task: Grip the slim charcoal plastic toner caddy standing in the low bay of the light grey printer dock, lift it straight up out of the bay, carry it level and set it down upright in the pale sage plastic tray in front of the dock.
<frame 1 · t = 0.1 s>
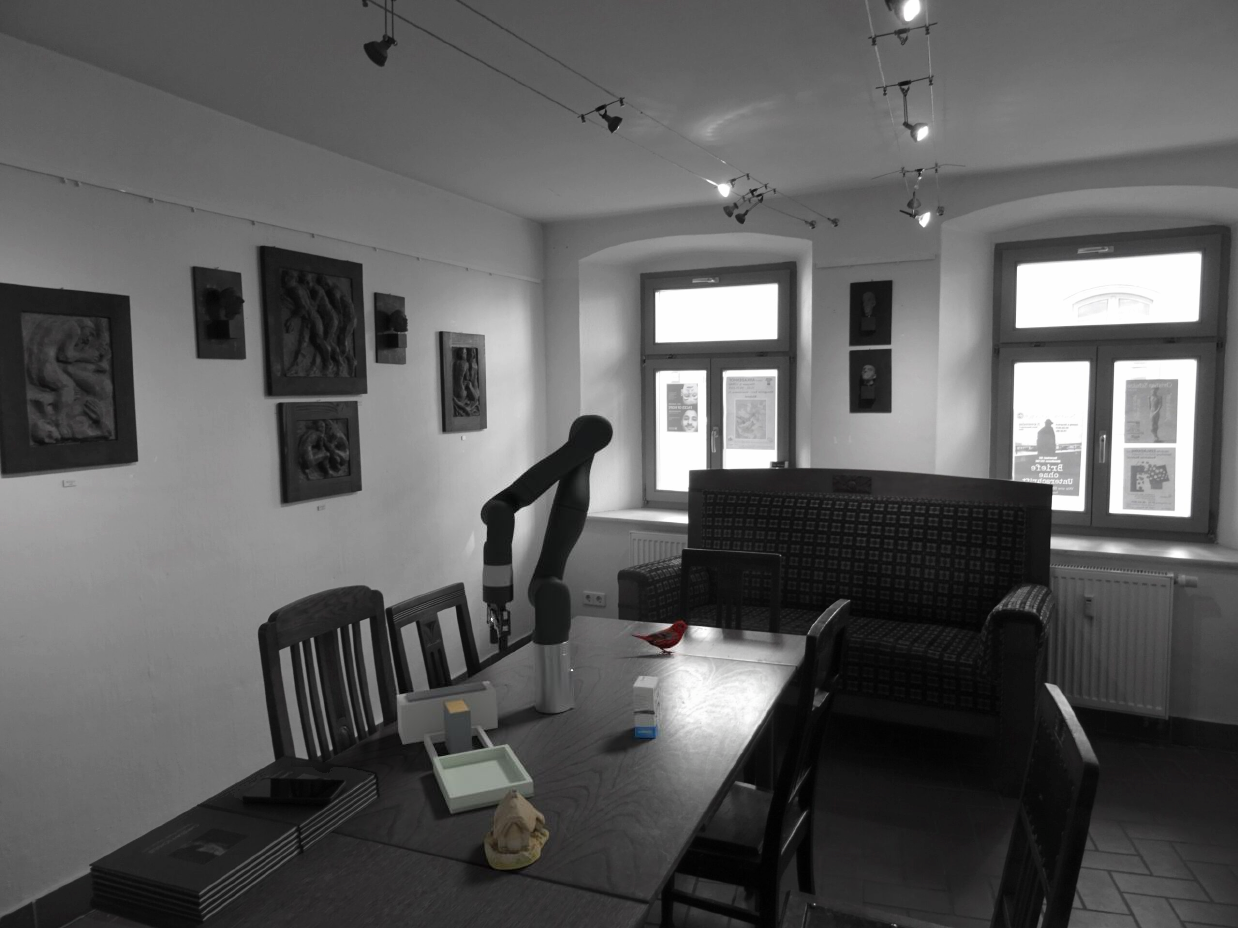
hand: (498, 647, 202), 17 cm above the table, tool pointing down, fingers open, 8 cm apart
ceramic model: (516, 849, 142), on the table
tray: (481, 783, 167), on the table
toner caddy: (458, 750, 184), resting in printer dock
ink box: (647, 731, 191), on the table
decorative bird figurine: (660, 654, 251), on the table
printer dock: (458, 749, 184), on the table
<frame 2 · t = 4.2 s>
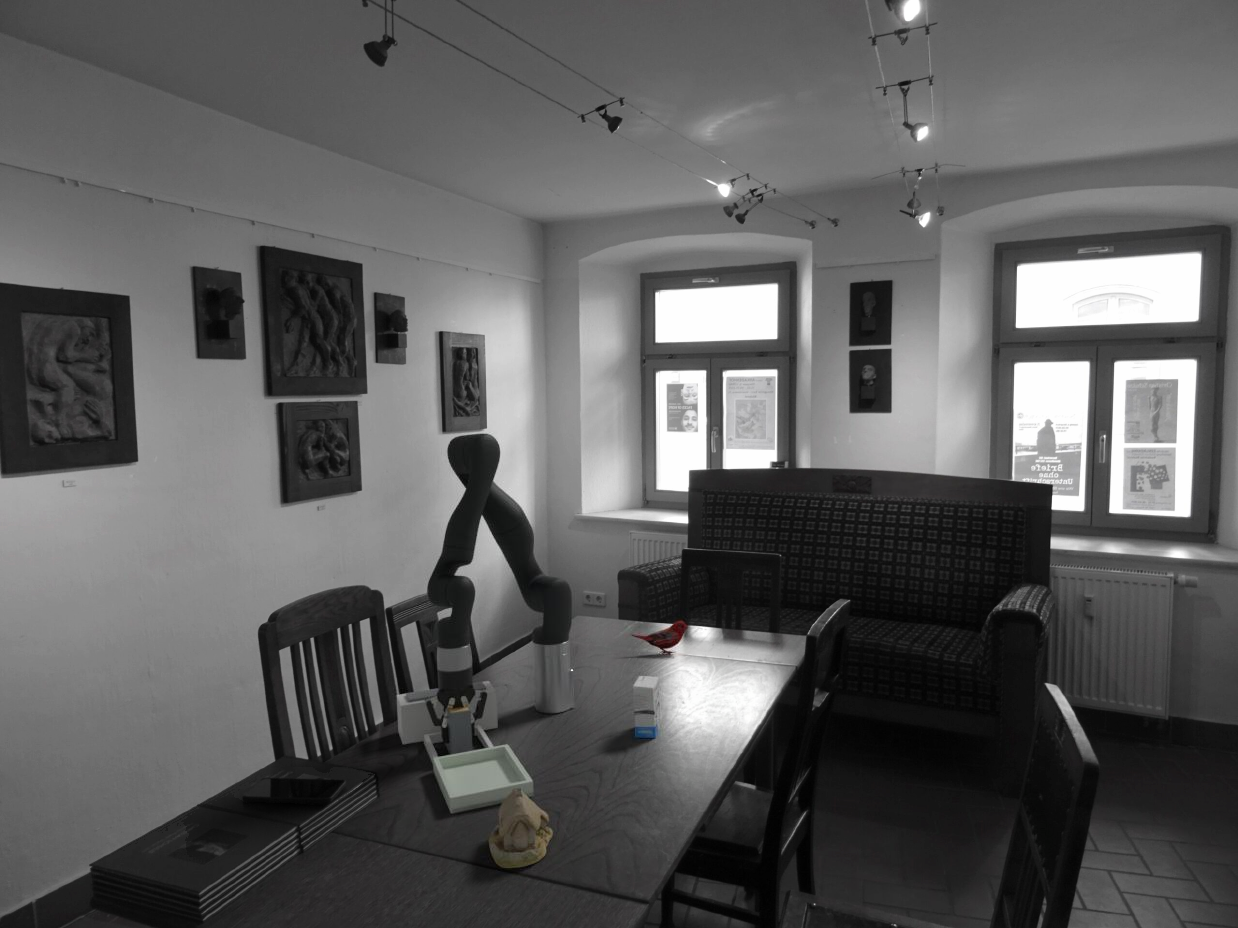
hand: (458, 739, 184), 2 cm above the table, tool pointing down, fingers closed on toner caddy, 4 cm apart
toner caddy: (458, 750, 184), resting in printer dock, touching gripper
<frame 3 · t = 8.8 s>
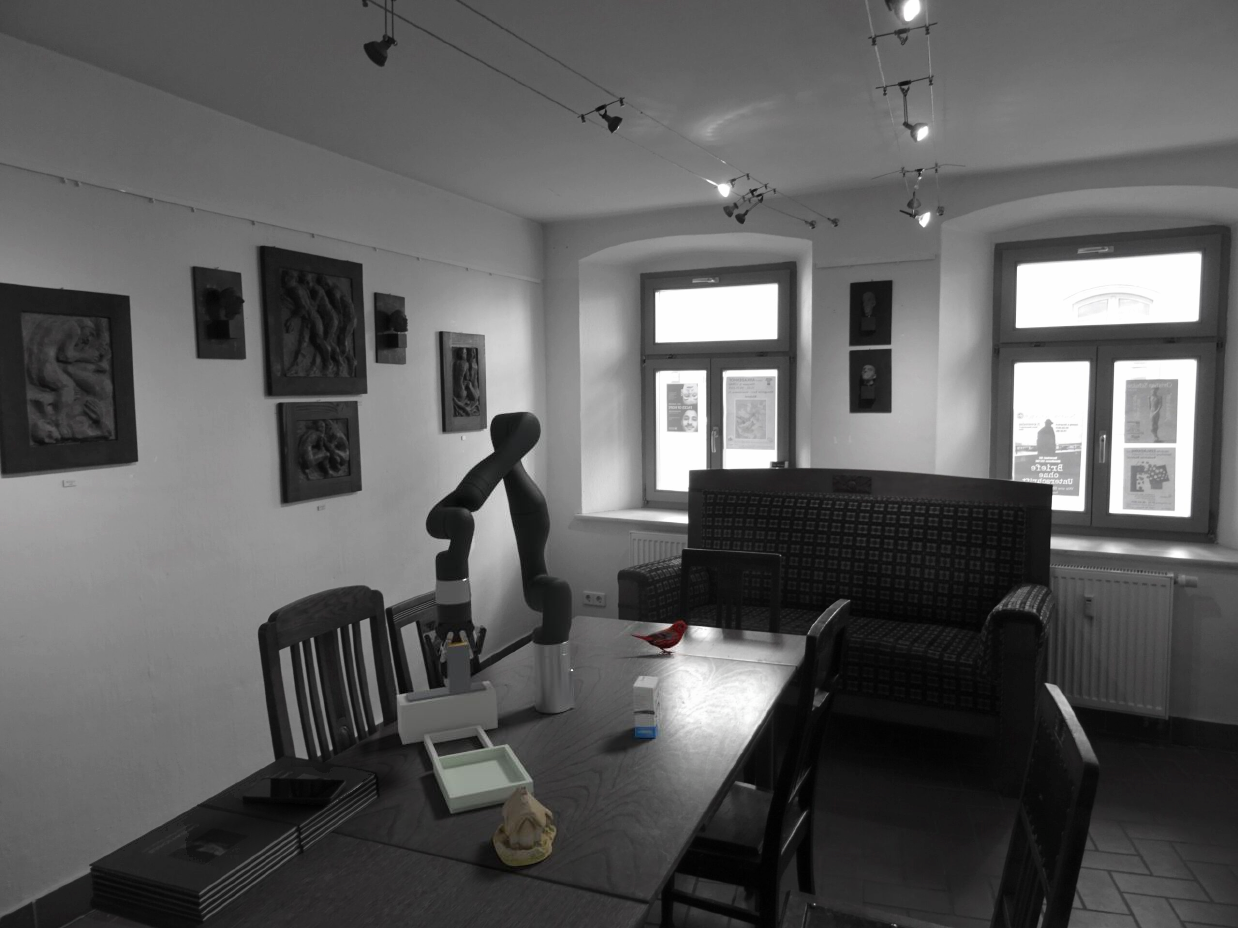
hand: (456, 675, 180), 18 cm above the table, tool pointing down, fingers closed on toner caddy, 4 cm apart
toner caddy: (457, 686, 180), point 15 cm above the table, touching gripper
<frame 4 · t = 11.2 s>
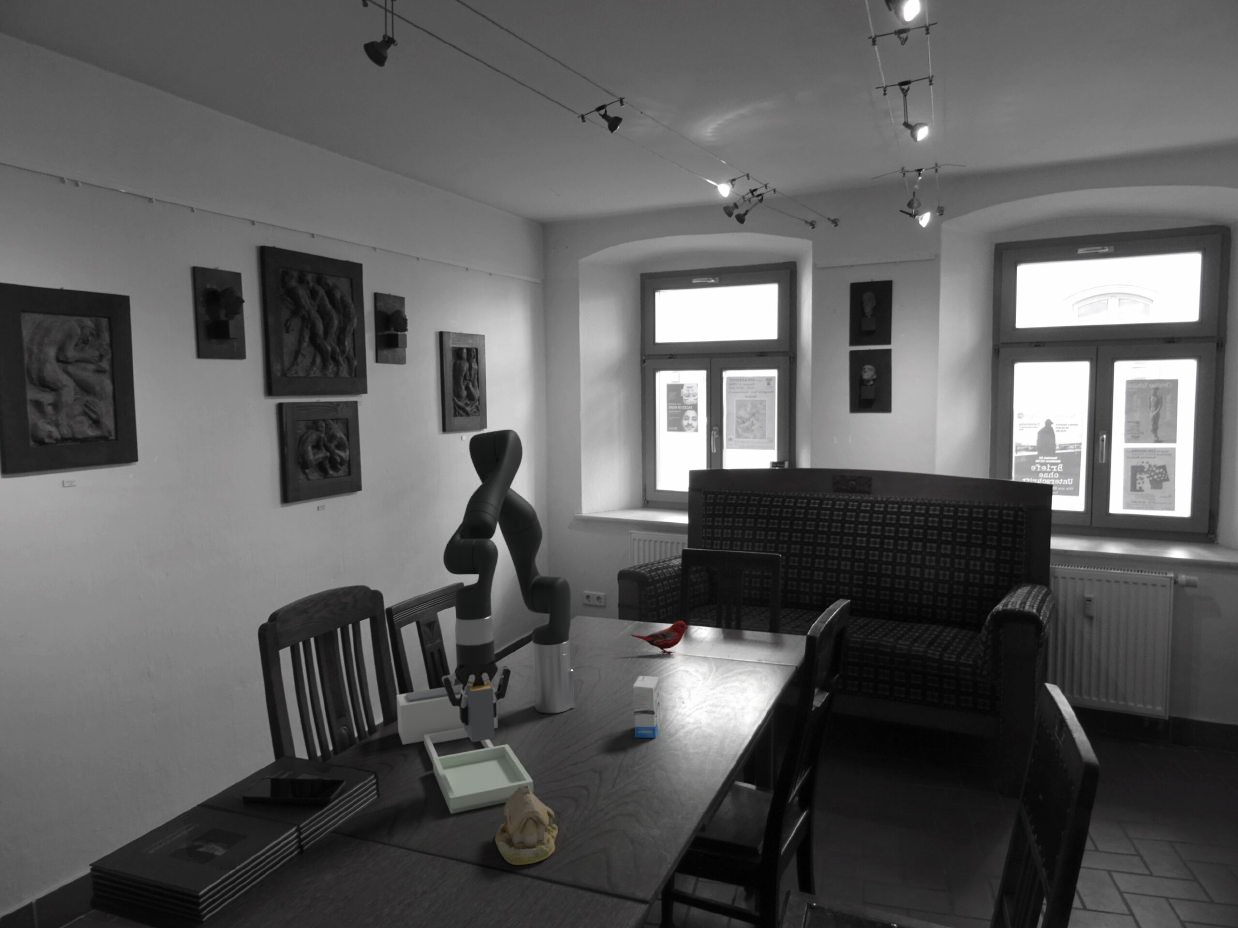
hand: (478, 721, 166), 13 cm above the table, tool pointing down, fingers closed on toner caddy, 4 cm apart
toner caddy: (479, 733, 166), point 10 cm above the table, touching gripper
when the fingers open (4 cm above the table, at t = 13.5 s): toner caddy drops 1 cm, resting on tray.
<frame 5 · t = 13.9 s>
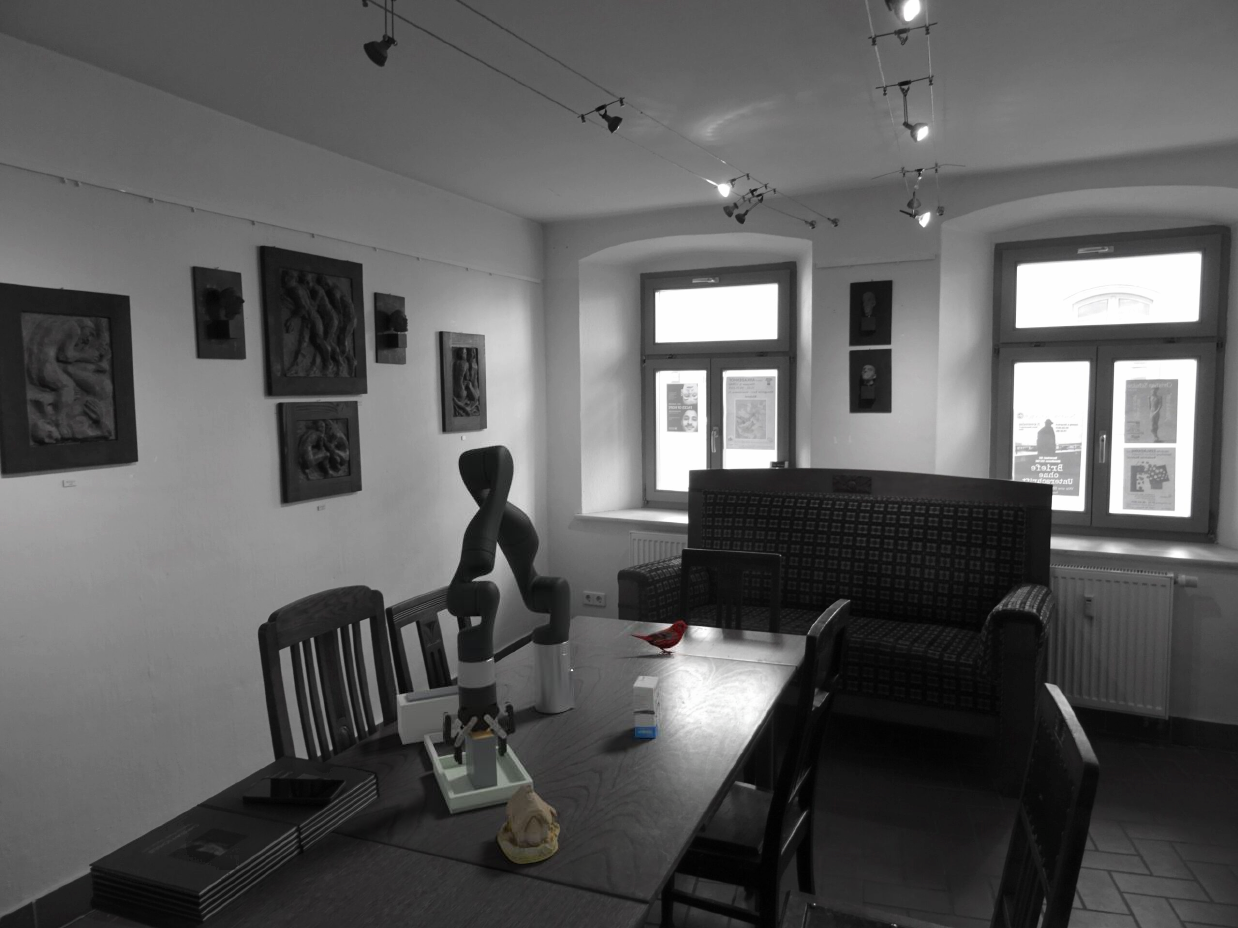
hand: (480, 758, 166), 5 cm above the table, tool pointing down, fingers open, 8 cm apart
toner caddy: (481, 779, 167), point 1 cm above the table, touching tray
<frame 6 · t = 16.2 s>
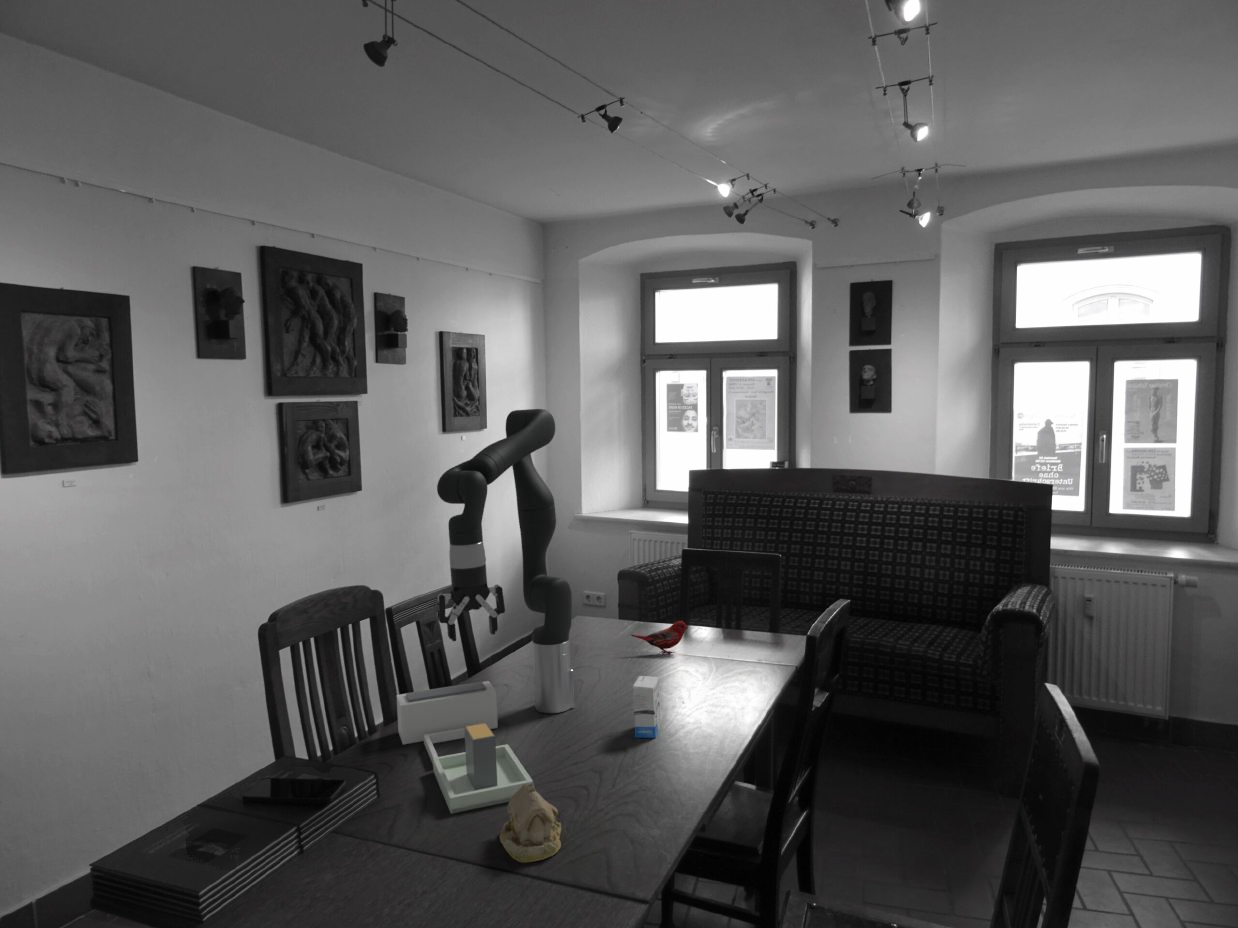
hand: (473, 636, 179), 26 cm above the table, tool pointing down, fingers open, 8 cm apart
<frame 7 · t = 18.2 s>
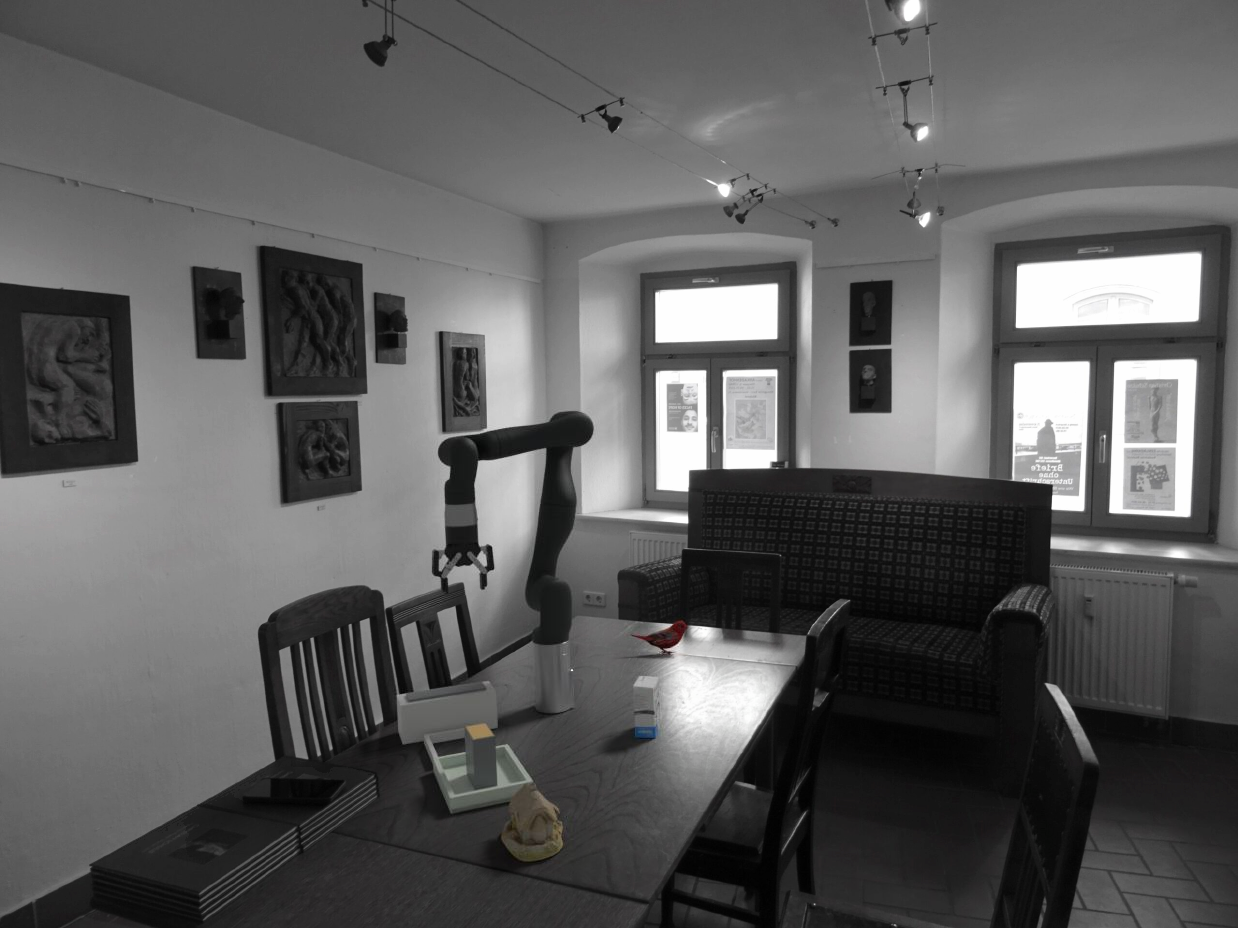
hand: (464, 591, 194), 33 cm above the table, tool pointing down, fingers open, 8 cm apart
at the end: toner caddy inside the target area on the tray (0.1 cm from its centre), point 0.8 cm above the tray's base; toner caddy tilted 0°; the gripper is holding nothing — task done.
